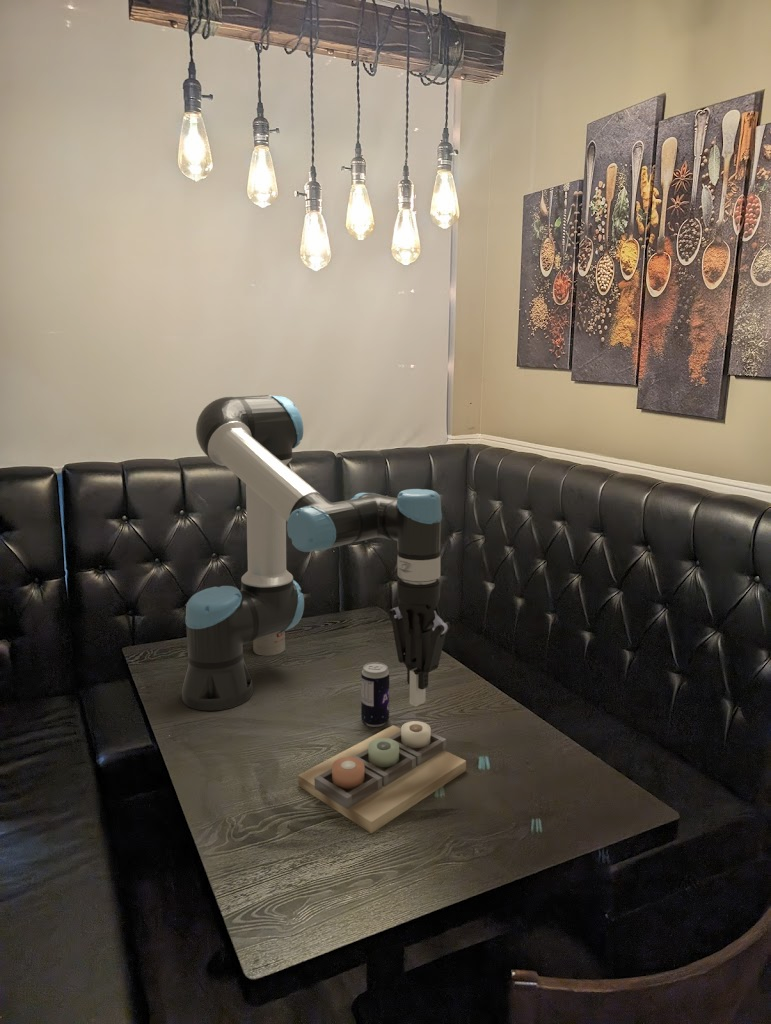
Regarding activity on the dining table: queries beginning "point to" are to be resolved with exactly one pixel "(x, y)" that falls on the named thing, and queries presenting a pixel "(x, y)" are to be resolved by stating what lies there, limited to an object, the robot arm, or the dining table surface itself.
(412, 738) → the cream button
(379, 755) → the sage button
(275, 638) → the thermos bottle
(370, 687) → the beverage can
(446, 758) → the panel
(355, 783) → the terracotta button
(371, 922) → the dining table surface
